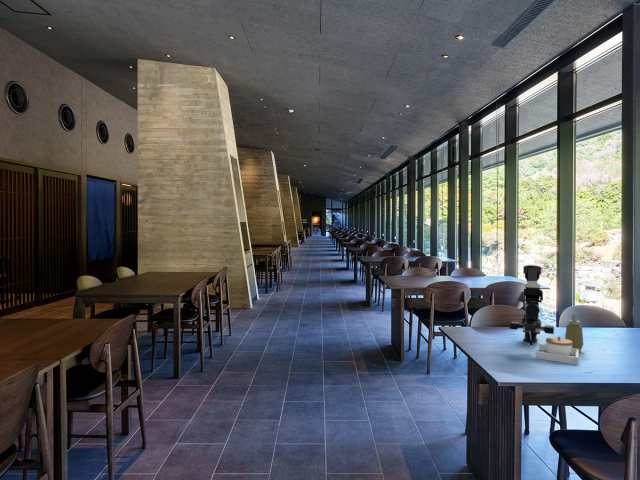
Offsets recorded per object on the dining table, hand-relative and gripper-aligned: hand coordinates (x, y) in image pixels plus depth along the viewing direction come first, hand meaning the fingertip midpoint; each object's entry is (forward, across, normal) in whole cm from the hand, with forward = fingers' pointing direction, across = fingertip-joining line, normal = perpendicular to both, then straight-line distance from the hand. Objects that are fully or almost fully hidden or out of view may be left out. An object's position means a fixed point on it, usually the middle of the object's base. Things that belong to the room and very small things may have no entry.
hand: (531, 345), depth 205 cm
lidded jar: (+4, +12, 0) cm, 12 cm away
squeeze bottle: (+4, +17, +17) cm, 24 cm away
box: (+3, +11, 0) cm, 11 cm away
